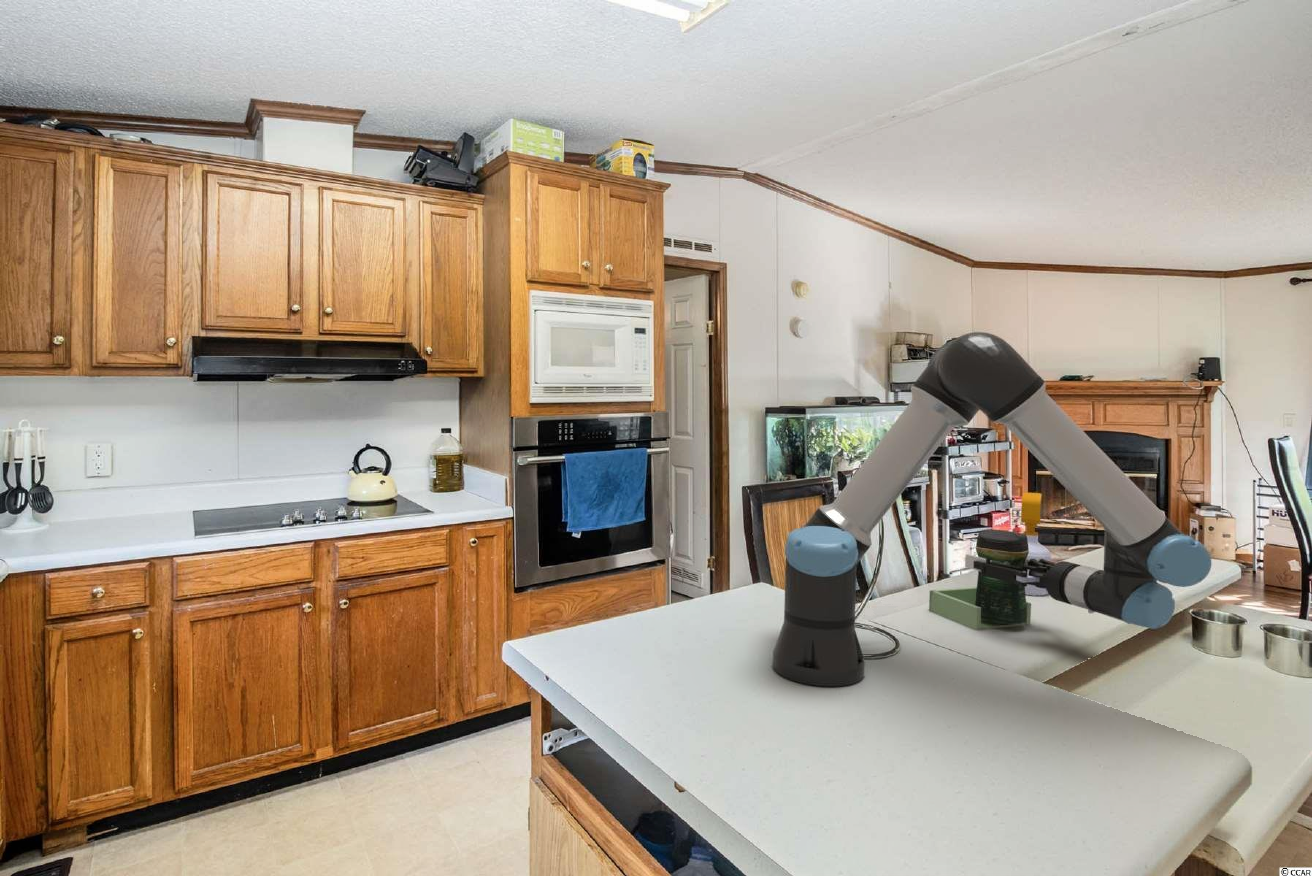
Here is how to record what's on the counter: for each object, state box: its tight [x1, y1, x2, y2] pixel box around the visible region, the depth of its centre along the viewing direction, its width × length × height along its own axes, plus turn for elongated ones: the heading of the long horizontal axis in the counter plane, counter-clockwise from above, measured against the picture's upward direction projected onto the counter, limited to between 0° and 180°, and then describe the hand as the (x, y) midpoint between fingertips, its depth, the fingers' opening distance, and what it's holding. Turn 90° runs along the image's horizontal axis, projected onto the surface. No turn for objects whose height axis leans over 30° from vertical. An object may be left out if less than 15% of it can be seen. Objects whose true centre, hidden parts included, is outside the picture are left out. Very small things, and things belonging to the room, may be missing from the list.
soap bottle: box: [1020, 492, 1052, 597], centre depth 171 cm, size 9×9×25 cm
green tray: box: [928, 586, 1032, 631], centre depth 148 cm, size 14×14×4 cm
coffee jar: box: [974, 528, 1029, 624], centre depth 143 cm, size 10×8×19 cm
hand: (984, 559), depth 148 cm, fingers closed on coffee jar, 9 cm apart
